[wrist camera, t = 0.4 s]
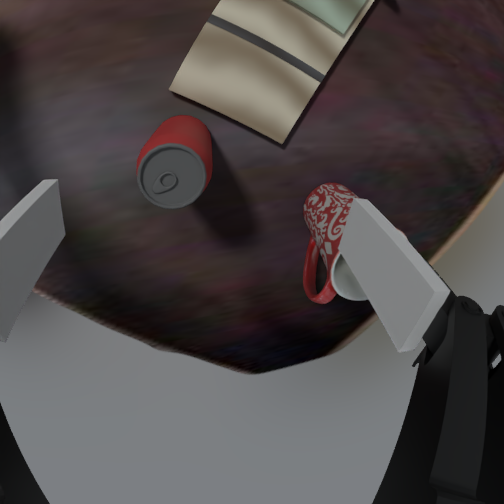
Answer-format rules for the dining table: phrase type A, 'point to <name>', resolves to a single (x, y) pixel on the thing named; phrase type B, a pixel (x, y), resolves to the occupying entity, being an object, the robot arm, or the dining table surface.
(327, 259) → the mug
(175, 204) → the beer can
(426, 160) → the dining table surface
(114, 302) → the dining table surface
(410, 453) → the robot arm
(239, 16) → the beige green bent panel
